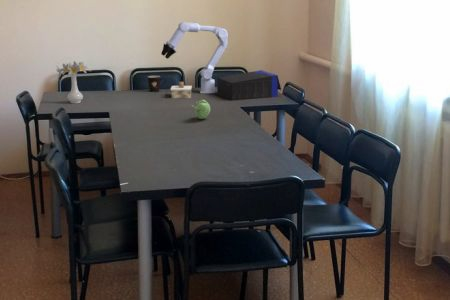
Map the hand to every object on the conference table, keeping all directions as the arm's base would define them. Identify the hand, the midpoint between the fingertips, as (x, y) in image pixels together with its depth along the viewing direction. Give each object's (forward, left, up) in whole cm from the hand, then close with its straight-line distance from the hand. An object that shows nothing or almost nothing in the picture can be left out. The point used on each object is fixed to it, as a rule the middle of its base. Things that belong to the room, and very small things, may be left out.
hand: (164, 56), depth 374 cm
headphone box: (-55, +6, -25) cm, 61 cm away
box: (-11, +8, -25) cm, 28 cm away
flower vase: (+54, +26, -25) cm, 65 cm away
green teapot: (-25, +75, -25) cm, 83 cm away
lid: (-11, +8, -20) cm, 24 cm away
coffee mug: (+7, -11, -25) cm, 28 cm away
